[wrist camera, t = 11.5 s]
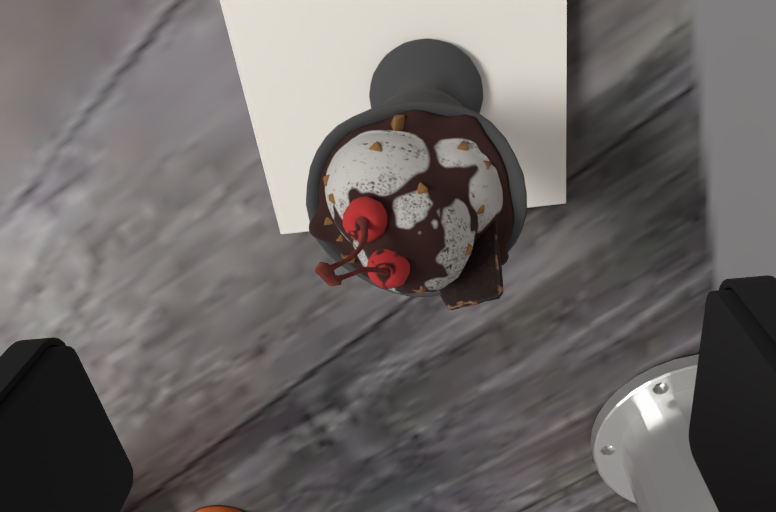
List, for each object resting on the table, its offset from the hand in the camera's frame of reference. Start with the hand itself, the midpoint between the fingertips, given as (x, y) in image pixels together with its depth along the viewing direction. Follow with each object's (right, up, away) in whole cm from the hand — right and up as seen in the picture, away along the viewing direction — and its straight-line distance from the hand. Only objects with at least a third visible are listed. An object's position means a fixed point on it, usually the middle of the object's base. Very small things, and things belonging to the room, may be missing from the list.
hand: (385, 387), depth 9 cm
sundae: (+2, +9, +18) cm, 20 cm away
